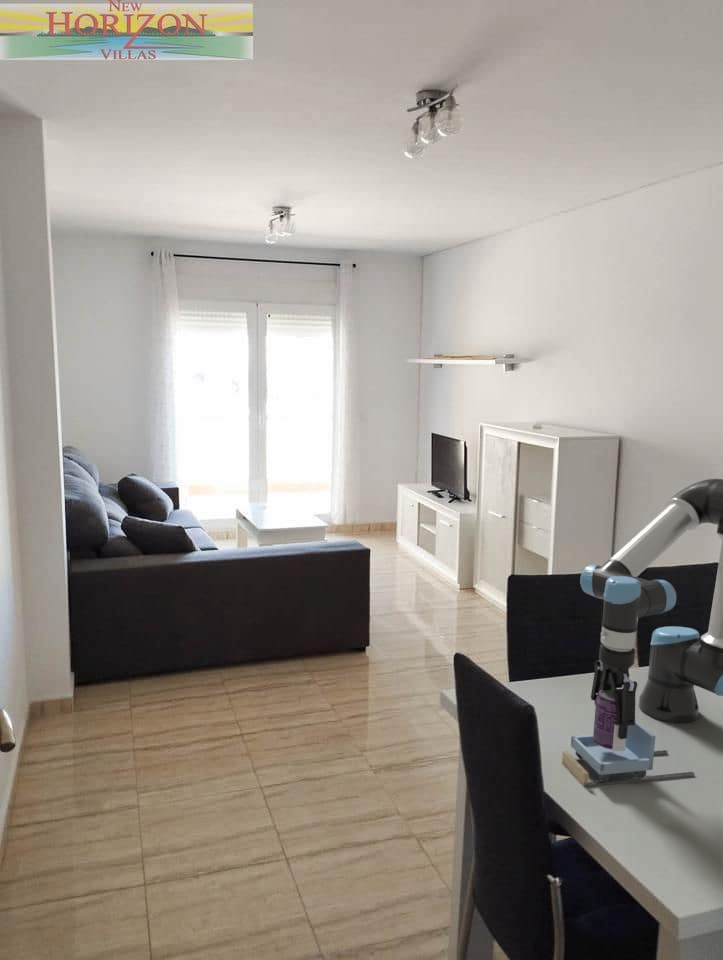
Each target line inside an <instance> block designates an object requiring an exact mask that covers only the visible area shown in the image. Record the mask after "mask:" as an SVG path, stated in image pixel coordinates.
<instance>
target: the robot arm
mask: <svg viewBox="0 0 723 960" xmlns="http://www.w3.org/2000/svg"><path fill="white" fill-rule="evenodd" d="M664 505H665V506H664V509H663V510H662V511H661V512H660V513H658V515H656V517H654V518H653V519H652V520H651V521H649V523H648V524H647V525H646V526H645V527H643V528H642V529H641V530H640V531H639V532H638V533H637V534H635V536H634V537H633V538H632V539H630V540H629V541H628V542H626V543H625V545H623V546H622V547H621V548H620V549H619V550H618V551H617V552H616V553H614V555H612V556H611V557H610V558H609V559H608V560H607V561H606V562H604V563H603V565H600V564H590V565H587V566H585V568H584V569H583V570H582V572H581V575H580V580H579V584H580V587H581V589H582V591H583V592H584V593H585V594H587V595H590V596H592V597H594V598H595V599H601V600H603V610H602V621H601V631H600V645H599V654H598V659H597V660H595V661H594V675H593V681H592V688H591V693H590V700H592V701H594V706H596V699H597V697H598V695H599V691H600V690H611V689H612V692H613V693H614V697H615V700H616V701H615V705H616V715H617V722H614V723H615V725H614V736H613V748H612V750H613V751H625V745H626V738H627V729H628V726H631V725H635V720H636V695H637V694H636V692H637V688H638V682H637V681H636V680H635V681H632V679H630V671H629V670H630V668H631V667H633V665H634V664H635V657H636V655H635V654H636V649H635V647H637V635H638V621H639V619H641V618H643V617H644V618H645V617H649V616H653V615H654V616H655V615H661V614H663V613H665V612H668V611H671V610H673V608H674V607H675V605H676V603H677V593H676V590H675V588H674V586H673V585H672V584H671V583H670V582H668V581H667V580H665V579H652V580H648V579H643V578H640V577H638V576H640V575H641V573H643V572H644V571H645V570H646V569H647V568H648V567H649V566H651V564H653V563H654V562H655V561H656V560H657V559H658V558H659V557H660V556H661V555H662V554H663V553H664V552H665V551H667V550H668V549H669V547H671V546H672V545H673V544H674V543H675V542H676V541H677V540H679V538H681V537H682V536H683V535H684V534H685V533H686V532H687V531H691V530H695V529H696V528H697V527H698V526H699V525H702V524H713V525H717V530H716V534H717V535H718V537H719V538H720V539H721V546H720V552H719V560H718V565H717V573H716V576H715V577H716V578H715V579H716V580H715V586H714V592H713V598H712V605H711V611H710V615H709V617H710V618H709V624H708V630H707V632H705V633H704V634H702V635H701V636H700V633H699V631H698V630H697V629H694V628H691V627H684V626H675V625H674V626H663V627H658V628H656V629H655V630H653V632H652V634H651V639H650V640H651V642H650V644H649V645H650V651H649V663H648V664H649V665H648V676H647V680H646V683H645V684H644V687H643V689H642V693H641V694H640V696H639V700H638V707H639V709H640V710H641V711H642V712H643V713H644V714H646V715H648V716H649V717H652V718H655V719H658V720H661V721H665V722H670V723H678V724H679V723H681V724H685V723H691V722H693V721H696V720H697V719H698V718H699V711H700V709H699V708H700V707H699V704H698V699H697V695H696V691H695V687H698V688H701V689H704V690H706V691H708V692H711V693H713V694H715V695H716V696H719V697H723V479H722V478H708V479H704V480H701V481H698V482H695V483H692V484H690V485H689V486H687V487H684V488H683V489H681V490H680V491H678V492H677V493H675V494H674V495H673V496H671V498H670V499H668V500H667V501H666V502H665V504H664Z"/></svg>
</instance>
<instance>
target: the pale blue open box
mask: <svg viewBox="0 0 723 960" xmlns="http://www.w3.org/2000/svg"><path fill="white" fill-rule="evenodd" d="M656 738H657V737H656V735H655V734H654V733H652V732H651V731H650V730H648V729H647V728H646V727H645V726H644V725H642V723H640V722H639V721H637V720H636V719H635V725H631V726H628V729H627V738H626V745H625V751H613V750H612V749H607V748H604V747H602V746H600V745H598V744H597V743H596V742H594V740H593V734H586V735H572V736H571V740H570V746H571V748H572V749H573V750H574V751H575V755H576V757H577V759H578V758H580V759H584V760H585V761H586V762H585V763H588V765H589V766H590V767H591V768H592V769H593V770H594V771H595V772H597V777H598V779H599V781H603V782H606V781H608V780H610V777H611V775H613V774H621V773H622V774H623V773H630V772H631V773H632V772H633V773H634V775H635V776H636V777H638V778H643V777H645V776H646V774H647V771H650V770H651V771H652V770H653V765H654V758H655V755H654V751H655V745H656Z"/></svg>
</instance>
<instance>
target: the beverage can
mask: <svg viewBox="0 0 723 960" xmlns="http://www.w3.org/2000/svg"><path fill="white" fill-rule="evenodd" d="M615 701H616V700H615V697H614V693H613V692H612V689H611V690H600V691H599V695H598V697H597V699H596V705H595V710H594V721H593V733H592V735H593V740H594V742H596V743H597V744H598V745H600V746H602V747H604V748H607V749H612V748H613V736H614V725H615V723H614V722H617V715H616V705H615Z"/></svg>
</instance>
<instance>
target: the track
mask: <svg viewBox="0 0 723 960" xmlns="http://www.w3.org/2000/svg"><path fill="white" fill-rule="evenodd" d="M668 753H669V752H668V751H667V750H663V749H662V750H654V756H662V755H664V756H665V755H668ZM582 763H587V762H586V761H585V760H584V759H580V758H578V757H577V758H574V757H573V755H571V754H570V753H569V752H568V751H567V750H564V751H562V760H561V764H562V765H563V766H564V767H565V768H566V769H567V770H568V771H569V772H570V773H571V775H572V776H573V777H574V778H575V779H576V780H577V781H578V783H580V785H582V786H583V787H587V788H592V787H600V786H610V785H618V784H619V785H621V784H629V783H630V784H631V783H640V782H650V781H657V780H659V781H660V780H669V779H678V778H687V777H688V778H689V777H695V773H694V772H693V771H686V772H676V773H667V774H666V773H665V774H657V775H649V776H646V775H645V776H644V777H643V778H638V777H637V776H636V777H629V778H627V777H626V778H618V779H616V778H615V779H609V780H608V781H606V782H603V781H601V780H598V781H589V776H590V773H589V772H588V771H587V770H586V769H585V768H584V767H583V766H582V765H581V764H582Z"/></svg>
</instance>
